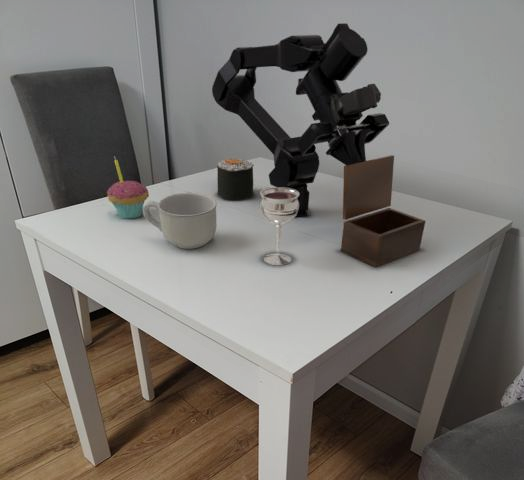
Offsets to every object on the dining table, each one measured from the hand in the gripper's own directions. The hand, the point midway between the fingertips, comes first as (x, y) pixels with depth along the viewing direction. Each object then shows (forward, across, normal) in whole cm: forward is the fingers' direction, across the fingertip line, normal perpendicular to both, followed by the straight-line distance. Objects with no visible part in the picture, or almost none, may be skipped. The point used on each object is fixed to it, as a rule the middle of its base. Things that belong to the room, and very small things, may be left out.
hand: (364, 174), depth 89 cm
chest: (+13, 0, +5) cm, 14 cm away
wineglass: (+7, -18, +11) cm, 22 cm away
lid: (+3, 0, 0) cm, 3 cm away
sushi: (-17, -3, +35) cm, 39 cm away
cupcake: (-19, -29, +36) cm, 50 cm away
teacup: (-5, -28, +23) cm, 36 cm away
